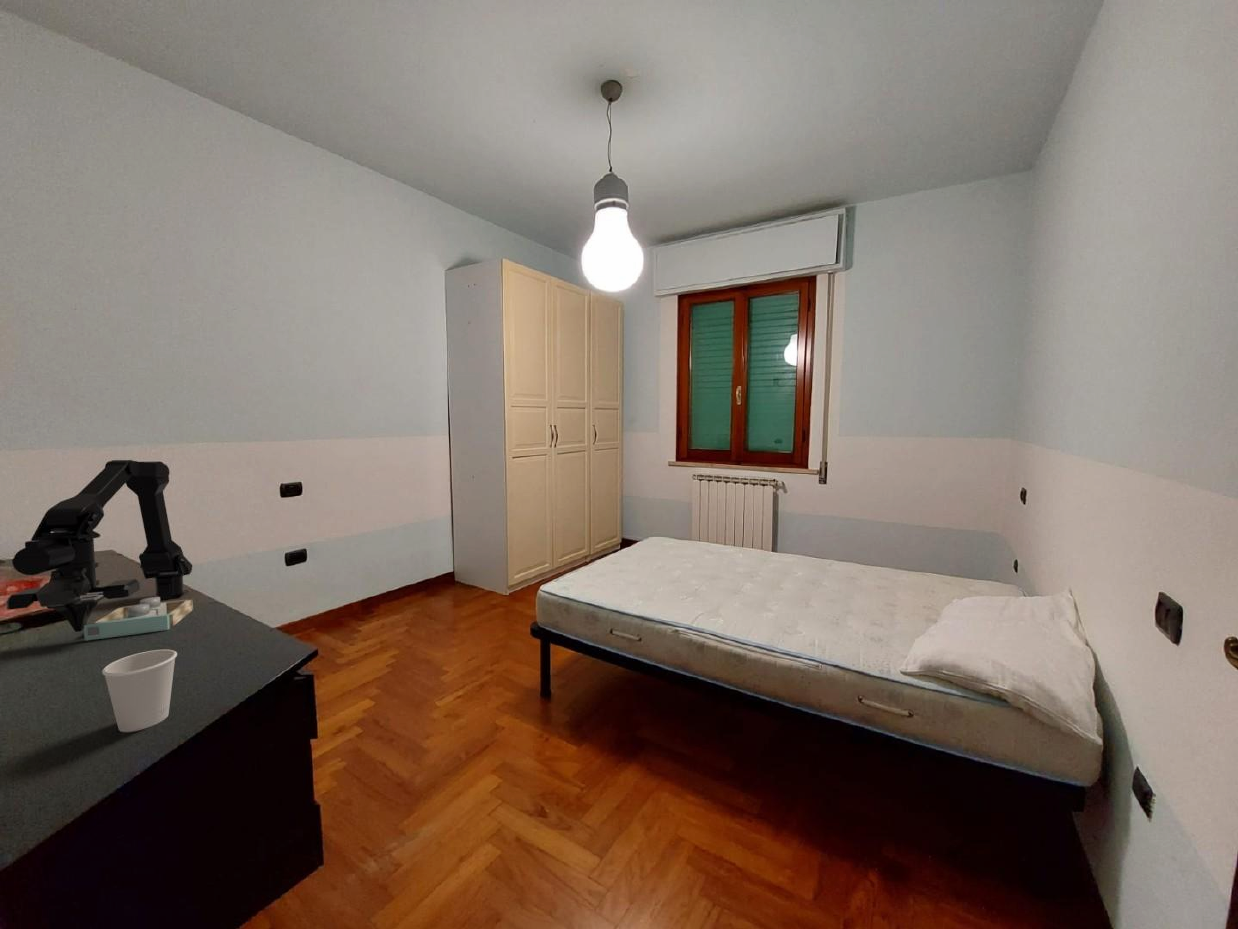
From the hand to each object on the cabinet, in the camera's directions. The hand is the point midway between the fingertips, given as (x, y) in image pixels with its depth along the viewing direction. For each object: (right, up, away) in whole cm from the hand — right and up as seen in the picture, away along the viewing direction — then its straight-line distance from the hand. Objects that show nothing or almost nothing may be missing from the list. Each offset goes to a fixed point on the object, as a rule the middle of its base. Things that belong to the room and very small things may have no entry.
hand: (79, 631), depth 103 cm
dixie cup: (+44, -5, -28) cm, 52 cm away
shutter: (+7, -2, +4) cm, 8 cm away
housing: (+4, -2, +11) cm, 12 cm away
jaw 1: (+5, -2, +8) cm, 10 cm away
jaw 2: (+3, -2, +13) cm, 13 cm away
